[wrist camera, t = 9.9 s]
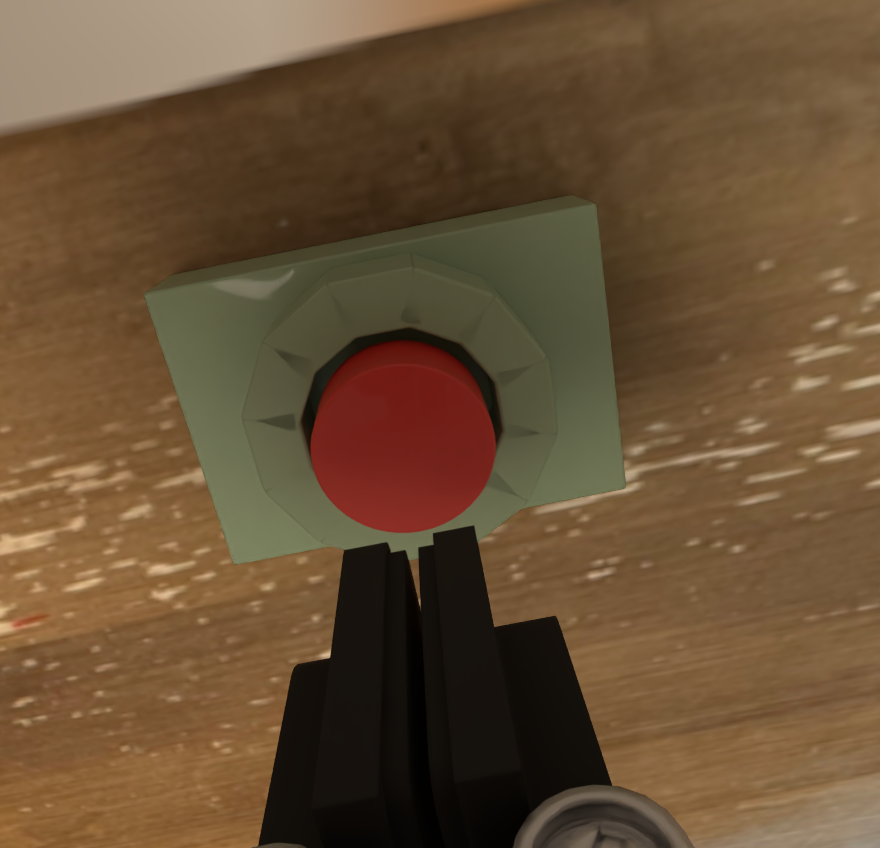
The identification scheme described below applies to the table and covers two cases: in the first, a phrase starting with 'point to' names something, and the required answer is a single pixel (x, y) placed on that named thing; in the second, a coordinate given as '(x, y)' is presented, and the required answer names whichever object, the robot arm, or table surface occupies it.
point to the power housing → (386, 319)
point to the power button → (402, 437)
